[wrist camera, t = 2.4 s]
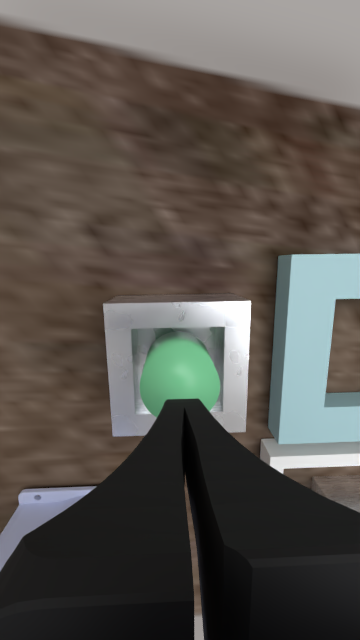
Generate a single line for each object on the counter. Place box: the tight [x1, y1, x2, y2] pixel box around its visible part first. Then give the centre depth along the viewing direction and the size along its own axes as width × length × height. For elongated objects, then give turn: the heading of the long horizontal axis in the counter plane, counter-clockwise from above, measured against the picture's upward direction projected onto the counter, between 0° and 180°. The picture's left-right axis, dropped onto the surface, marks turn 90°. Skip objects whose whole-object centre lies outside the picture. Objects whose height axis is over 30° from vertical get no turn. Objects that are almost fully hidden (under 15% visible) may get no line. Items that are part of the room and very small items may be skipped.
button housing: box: [103, 293, 251, 437], centre depth 17 cm, size 8×8×4 cm
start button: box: [140, 331, 220, 418], centre depth 15 cm, size 4×4×4 cm
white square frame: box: [260, 438, 360, 474], centre depth 21 cm, size 13×13×2 cm
